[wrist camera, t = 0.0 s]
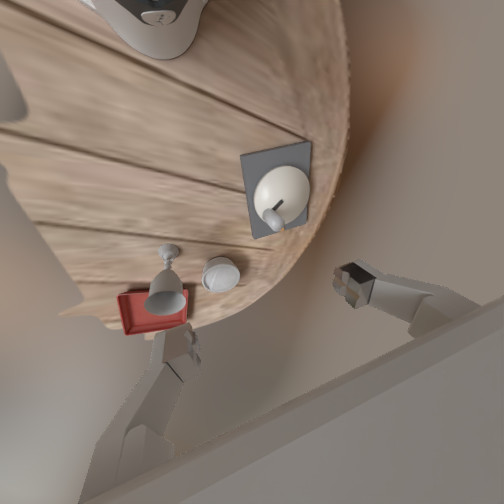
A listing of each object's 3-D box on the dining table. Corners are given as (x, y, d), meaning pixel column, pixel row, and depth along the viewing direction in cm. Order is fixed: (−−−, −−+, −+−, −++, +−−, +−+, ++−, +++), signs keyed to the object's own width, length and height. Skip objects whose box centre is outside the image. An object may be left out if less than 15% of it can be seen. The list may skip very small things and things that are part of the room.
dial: (285, 150, 41) (305, 155, 35) (314, 193, 51) (333, 203, 44) (241, 199, 45) (251, 212, 38) (275, 231, 54) (288, 246, 48)
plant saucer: (188, 282, 57) (188, 290, 54) (185, 319, 66) (186, 327, 64) (118, 286, 50) (115, 295, 47) (126, 326, 59) (124, 336, 57)
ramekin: (194, 261, 53) (196, 272, 49) (231, 248, 55) (235, 258, 51) (207, 285, 60) (209, 297, 56) (238, 274, 62) (243, 284, 58)
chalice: (184, 241, 48) (187, 289, 35) (182, 262, 52) (184, 313, 38) (152, 239, 45) (142, 292, 32) (153, 261, 49) (144, 317, 35)
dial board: (239, 155, 41) (243, 157, 39) (306, 140, 44) (312, 141, 42) (252, 236, 55) (255, 240, 53) (302, 220, 58) (307, 224, 56)
